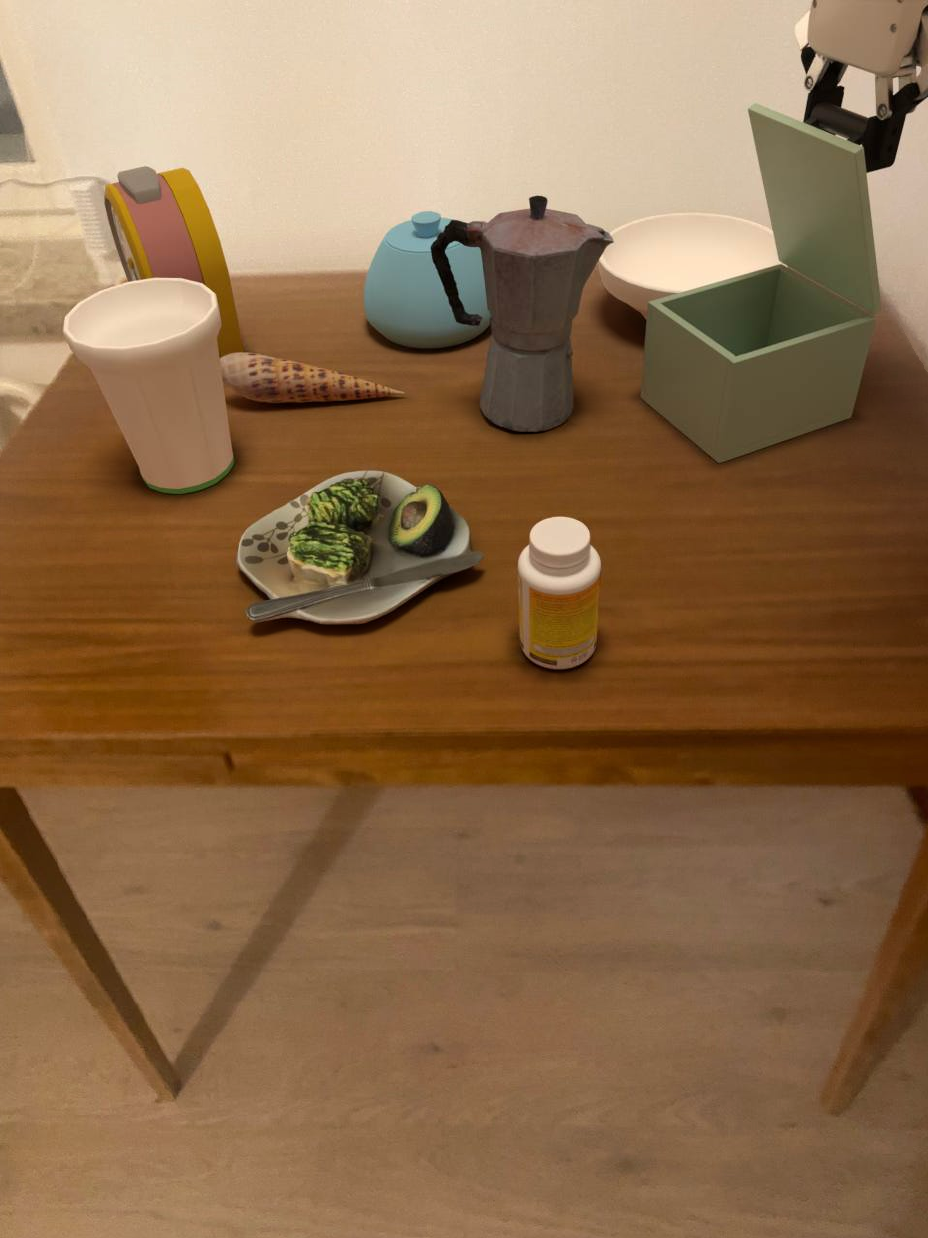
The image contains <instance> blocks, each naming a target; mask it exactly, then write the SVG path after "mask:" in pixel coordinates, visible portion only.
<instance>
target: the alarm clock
mask: <svg viewBox="0 0 928 1238" xmlns="http://www.w3.org/2000/svg"><path fill="white" fill-rule="evenodd" d="M156 171H157V170H155V169H154V168H152V167H150V166H147V165H146V166H145V165H144V166H140V167H135V168H131V169H126V170H122V171H118V173H117V182H113V183H108V184H105V187H104V195H103V197H104V201H103V203H104V208H105V212H106V218H107V220H108V224H109V228H110V231H111V236H112V238H113V242H114V245H115V248H116V251H117V255H118V257H119V260H120V263H121V266H122V269H123V271H124V275H125V277H126V280H127V282H131V281H138V280H144V279H150V278H182V279H186V280H191V281H195V282H199V283H202V284H204V285H205V286H206V287H208V288H209V289H210V290H211V291H213V292H214V293H215V294H216V297H217V302H218V307H219V311H220V318H221V324H222V325H221V328H220V331H219V333H218V336H217V343H218V350H219V357H220V358H221V357H223V356H226V355H228V354H231V353H239V352H245V349H244V344H243V339H242V333H241V328H240V325H239V318H238V313H237V308H236V303H235V299H234V293H233V287H232V283H231V277H230V272H229V268H228V265H227V260H226V257H225V253H224V250H223V247H222V244H221V239H220V235H219V234H218V231H217V228H216V225H215V223H214V219H213V217H212V213H211V211H210V208H209V206H208V203H207V201H206V199H205V197H204V194H203V192H202V190H201V188H200V186H199V184H198V182H197V181H196V179H195V177H194V176H193V174H192V173H191V171H190V169H187V168H184V167H179V168H175V169H171V170H166V171H162V172H158V173H157V172H156Z"/></svg>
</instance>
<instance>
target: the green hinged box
mask: <svg viewBox="0 0 928 1238" xmlns="http://www.w3.org/2000/svg"><path fill="white" fill-rule="evenodd" d="M645 323H646V324H645V337H644V347H643V348H644V349H643V361H642V374H641V384H640V396H639V397H640V399H641V400H643V402H644V403H646V404H647V405H648V406H650V407H651V408H652V409H653V410H654V411H656V412H657V413H658V414H659V415H660V416H662V417H663V418H664V419H665V420H666V421H667V422H669V423H670V424H671V425H672V426H673V427H674V428H675V429H677V430H678V431H679V432H681V434H683V435H685V437H686V438H688V439H689V440H690V441H691V442H692V443H694V444H695V445H696V446H697V447H698V448H700V450H702V451H703V452H704V453H705V454H707V455H708V456H709V457H710V458H711V459H713V461H715V462H716V463H717V464H722V463H724V462H728V461H731V460H733V459H736V458H738V457H742V456H745V455H748V454H751V453H753V452H756V451H759V450H762V449H765V448H768V447H771V446H773V445H777V444H779V443H782V442H785V441H788V440H792V439H793V438H797V437H800V436H802V435H806V434H808V433H812V432H814V431H816V430H819V429H823V428H825V427H828V426H831V425H835V424H838V423H840V422H842V421H845V420H849V419H851V418H852V416H853V412H854V408H855V405H856V400H857V397H858V393H859V389H860V385H861V382H862V381H861V380H862V377H863V374H864V370H865V365H866V361H867V357H868V353H869V349H870V346H871V342H872V338H873V334H874V330H875V327H876V323H877V317H876V316H875V315H873V314H871V313H870V312H868V311H866V310H864V309H863V308H861V307H859V306H857V305H856V304H854V303H852V302H850V301H849V300H847V299H845V298H843V297H842V296H840V295H838V294H836V293H835V292H833V291H831V290H829V289H828V288H826V287H824V286H822V285H820V284H819V283H817V282H815V281H813V280H812V279H810V278H808V277H806V276H805V275H803V274H801V273H799V272H798V271H796V270H794V269H792V268H791V267H789V268H788V267H786V266H784V265H782V264H779V265H775V266H772V267H768V268H765V269H761V270H758V271H754V272H751V273H747V274H744V275H740V276H737V277H733V278H730V279H726V280H723V281H719V282H716V283H712V284H709V285H705V286H702V287H698V288H695V289H691V290H688V291H684V292H681V293H677V294H674V295H670V296H667V297H663V298H660V299H656V300H653V301H649V302H648V309H647V320H646V322H645Z"/></svg>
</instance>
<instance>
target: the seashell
mask: <svg viewBox="0 0 928 1238" xmlns="http://www.w3.org/2000/svg"><path fill="white" fill-rule="evenodd" d="M220 365H221V372H222V379H223V384H226V385H227V386H228V387H229V388H230V389H231V390H232V391H233V392H235V393H236V394H237V395H240V396H241V397H242V398H245V399H248V400H251V401H255V402H259V403H266V404H284V403H311V402H312V403H313V402H320V403H322V402H323V403H324V402H334V401H335V402H336V401H337V402H341V401H342V402H344V401H355V400H356V401H358V400H363V399H364V400H365V399H373V398H383V397H384V398H385V397H393V396H400V395H406V394H407V392H403V391H401V390H397V389H394V388H391V387H388V386H385V385H383V384H379V383H375V382H372V381H370V380H366V379H363V378H359V377H356V376H353V375H348V374H345V373H343V372H339V371H335V370H333V369H332V370H330V369H327V368H324V367H320V366H315V365H311V364H306V363H303V362H299V361H296V360H291V359H287V358H286V359H285V358H277V357H273V356H270V355H266V354H262V353H256V352H245V351H244V352H239V353H231V354H228V355H226V356H223V357H221V358H220Z"/></svg>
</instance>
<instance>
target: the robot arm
mask: <svg viewBox="0 0 928 1238" xmlns="http://www.w3.org/2000/svg"><path fill="white" fill-rule="evenodd" d="M793 27H794V28H793V34H794V37H795V40H796V42H797V45H798V48H799V51H800V61H801V64H802V67H803V70H804V73H805V77H804V80H803V87H804V90H805V91H807V92H808V93H807V99H806V104H805V109H804V114H803V120H802V122H803V123H804V122H805V121H806V120H808V119H809V118H810V117H811V112H812V110H813V108H814V107H815V106H816V105H817V104H818V103H819V102H822V101H825V102H828V103H830V104H833V105H836V106H838V107H841V108H842V106H843V102H844V96H845V86H843V85H839V84H840V83H841V81H842V79H843V77H844V75H845V74H846V71H847V69H848V67H849V66H850V67H853V68H856V69H858V70H861V71H864V72H867V73H871V74H873V75H874V89H875V90H874V92H875V115H873V116H868V118H869V119H868V121H867V125H866V130H865V135H864V140H863V143H862V145H861V146H862V147H863V148H864V156H865V164H866V173H867V174H869V173H872V172H876V171H880V170H884V169H887V168H891V167H892V166H893V165H894V164H895V163H896V162H895V161H896V158H897V154H898V151H899V146H900V142H901V139H902V138H901V137H902V135H903V134H902V133H903V129H904V125H905V122H906V117H907V115H909V114H912V113H914V112H915V111H916V109H917V107H918V106H919V105H920V104H921V103H923V102H924V101H925V100H926V99H928V0H811V3H810V7H809V8H808V10H807V11H806V12H805V13H804V14H803V16H801V18H799V20H798V21H797V22H796V23H795V25H794V26H793ZM917 67H919V68H920V72H919V74H918V75H917ZM896 78H898V91H896V92H895V93H894V79H896ZM816 128H818V129H820V130H823V131H825V132H828V133H830V134H833V135H835V136H837V135H836V134H834V133H831V132H829V131H826V130H824V129H822V128H819V127H816Z"/></svg>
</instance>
